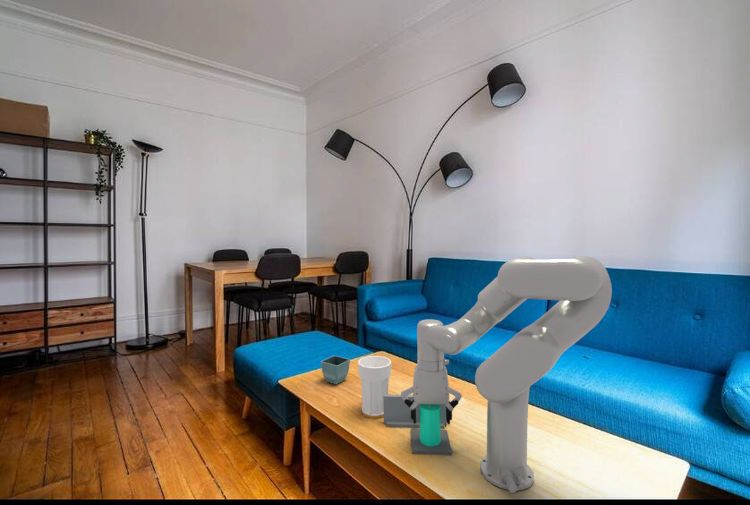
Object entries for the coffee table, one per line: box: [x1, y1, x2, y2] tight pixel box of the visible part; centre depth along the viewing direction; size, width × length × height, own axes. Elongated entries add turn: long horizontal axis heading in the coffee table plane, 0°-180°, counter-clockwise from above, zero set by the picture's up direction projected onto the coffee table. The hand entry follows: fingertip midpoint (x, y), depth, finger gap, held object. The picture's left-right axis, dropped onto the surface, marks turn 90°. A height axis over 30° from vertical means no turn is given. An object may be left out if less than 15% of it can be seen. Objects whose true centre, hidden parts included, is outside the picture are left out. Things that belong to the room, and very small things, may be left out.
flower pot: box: [320, 355, 351, 385], centre depth 144 cm, size 9×9×9 cm
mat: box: [410, 428, 453, 456], centre depth 102 cm, size 11×11×1 cm
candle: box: [419, 404, 442, 446], centre depth 101 cm, size 6×6×12 cm
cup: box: [357, 355, 392, 419], centre depth 119 cm, size 11×11×17 cm
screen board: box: [383, 393, 448, 430], centre depth 112 cm, size 5×20×9 cm, turn 86°
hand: (431, 421), depth 101 cm, fingers open, 9 cm apart
